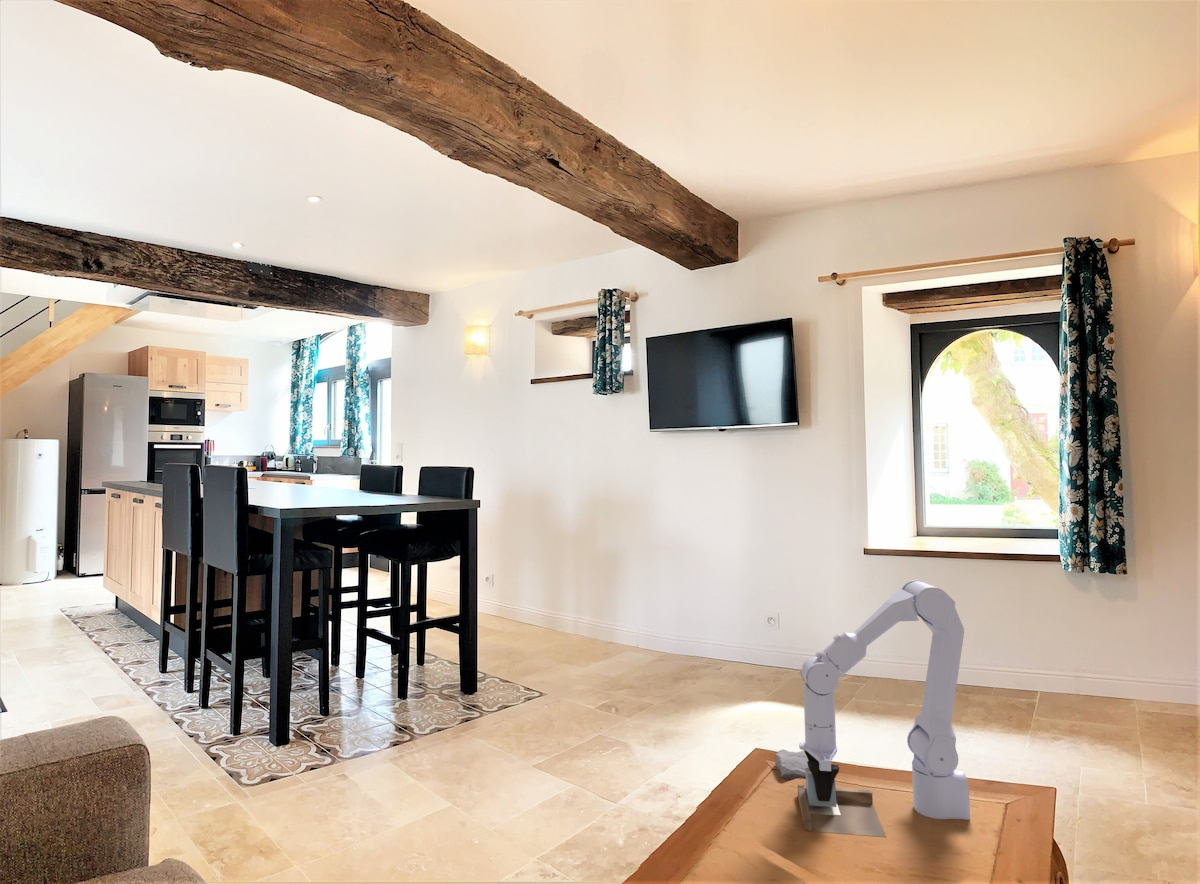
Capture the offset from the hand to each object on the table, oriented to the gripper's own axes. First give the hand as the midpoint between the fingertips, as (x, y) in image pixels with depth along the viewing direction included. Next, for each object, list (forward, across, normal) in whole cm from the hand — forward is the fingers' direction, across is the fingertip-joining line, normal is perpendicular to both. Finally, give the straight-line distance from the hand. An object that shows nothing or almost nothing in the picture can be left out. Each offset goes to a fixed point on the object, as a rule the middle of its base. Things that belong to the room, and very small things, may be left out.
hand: (821, 793), depth 136 cm
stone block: (+4, -18, -1) cm, 18 cm away
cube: (+1, 0, 0) cm, 1 cm away
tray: (+4, +3, +3) cm, 5 cm away
